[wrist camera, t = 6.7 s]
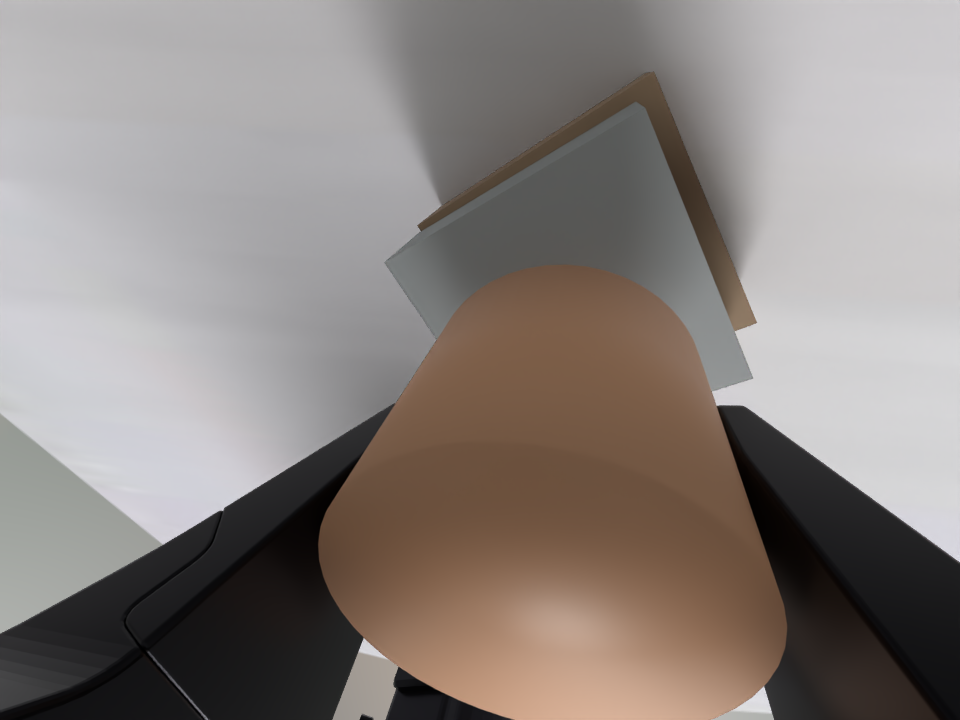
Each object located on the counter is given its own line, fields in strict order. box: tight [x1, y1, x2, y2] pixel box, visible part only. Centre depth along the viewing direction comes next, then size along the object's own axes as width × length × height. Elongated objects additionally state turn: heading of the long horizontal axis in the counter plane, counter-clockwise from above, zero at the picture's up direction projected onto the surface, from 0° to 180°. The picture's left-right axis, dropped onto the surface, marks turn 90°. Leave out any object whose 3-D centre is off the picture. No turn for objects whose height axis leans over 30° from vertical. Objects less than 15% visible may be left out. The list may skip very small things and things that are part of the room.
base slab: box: [417, 72, 757, 331], centre depth 13 cm, size 6×6×2 cm
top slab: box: [384, 102, 753, 391], centre depth 11 cm, size 6×6×2 cm
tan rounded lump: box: [318, 265, 787, 720], centre depth 7 cm, size 5×5×4 cm
